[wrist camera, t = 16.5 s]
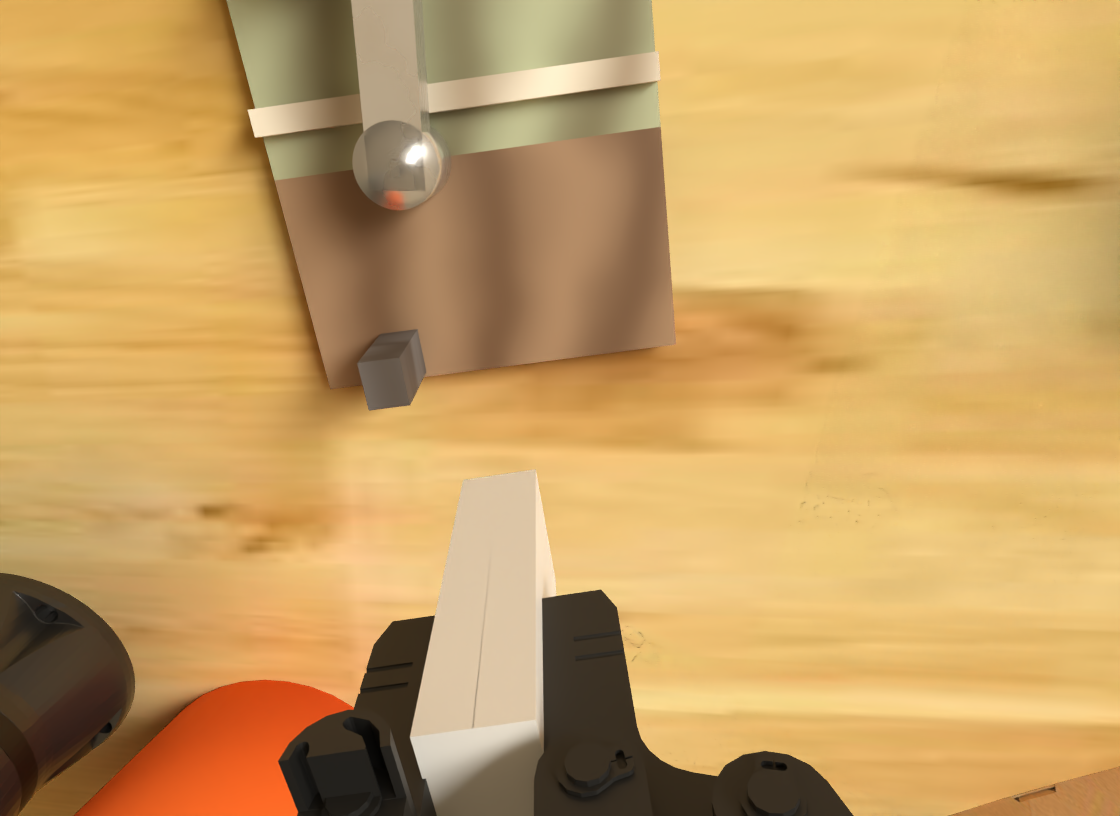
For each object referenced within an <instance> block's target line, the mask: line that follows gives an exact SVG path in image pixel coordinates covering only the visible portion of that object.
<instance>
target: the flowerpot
mask: <svg viewBox="0 0 1120 816" xmlns="http://www.w3.org/2000/svg"><path fill="white" fill-rule="evenodd" d="M345 710H354V708H353V707H352V706H350V705H348V704H347V703H345V702H343V701H342V700H340V699H338V698H336V697H335V696H333V695H331V694H328V693H325V692H323V691H320V690H318V689H315V688H313V687H309V686H305V685H300V684H296V683H291V682H285V681H271V680H258V681H246V682H239V683H235V684H231V685H227V686H223V687H219V688H217V689H215V690H213V691H211V692H208V693H206V694H204V695H202V696H200V697H199V698H198V699H196V700H195V701H194V702H192V703H191V704H189V705H188V706H187V707H186V708H185V709H183V710H182V711H181V712H180V713H179V714H178V715H177V716H176V717H175V718H174V719H173V720H172V721H171V722H170V723H169V724H168V725H167V726H166V727H165V728H164V729H163V730H162V731H161V732H160V733H159V734H158V735H157V736H156V737H154V738H153V739H152V740H151V741H150V742H149V743H148V744H147V745H146V746H145V747H144V748H143V749H142V750H141V751H140V752H139V753H138V754H137V755H136V756H135V757H134V758H133V759H132V760H131V761H130V762H129V763H128V764H127V765H125V766H124V767H123V768H122V769H121V770H120V771H119V772H118V773H117V774H116V775H115V776H114V777H113V778H112V779H111V780H110V781H109V782H108V783H107V784H106V785H105V786H104V787H103V788H102V789H101V790H100V791H99V792H98V793H96V794H95V795H94V796H93V797H92V798H91V799H90V800H89V801H88V802H87V803H86V804H85V805H84V806H83V807H82V808H81V809H80V810H79V811H78V812H77V813H76V814H75V815H74V816H297V814H298V811H297V808H296V806H295V803H294V801H293V798H292V796H291V793H290V791H289V788H288V786H287V783H286V781H285V778H284V775H283V773H282V770H281V768H280V765H279V763H278V760H279V759H280V757H281V756H282V754H283V752H284V751H285V749H286V747H287V746H288V744H289V743H290V742H291V741H292V740H293V739H294V738H295V737H296V736H297V735H299V734H300V733H301V732H302V731H303V730H304V729H305V728H306V727H308V726H310V725H311V724H313V723H315V722H317V721H318V720H320V719H322V718H324V717H326V716H328V715H331V714H335V713H338V712H342V711H345Z"/></svg>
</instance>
